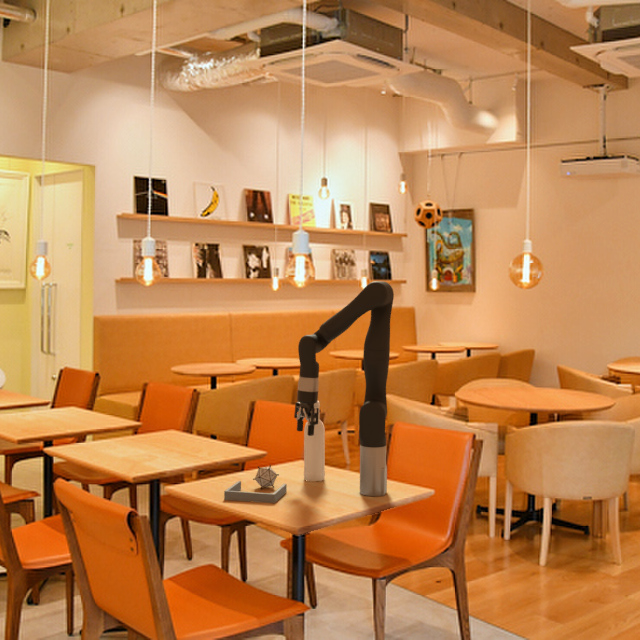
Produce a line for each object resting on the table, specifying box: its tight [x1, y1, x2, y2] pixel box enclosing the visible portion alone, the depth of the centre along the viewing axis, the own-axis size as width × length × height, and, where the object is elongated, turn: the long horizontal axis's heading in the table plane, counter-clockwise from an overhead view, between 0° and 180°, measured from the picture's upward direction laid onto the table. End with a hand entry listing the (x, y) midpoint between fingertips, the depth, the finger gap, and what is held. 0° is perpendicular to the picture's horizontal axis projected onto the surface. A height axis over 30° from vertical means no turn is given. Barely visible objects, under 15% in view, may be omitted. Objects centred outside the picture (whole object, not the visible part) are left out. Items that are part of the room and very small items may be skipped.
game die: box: [252, 464, 280, 490], centre depth 305 cm, size 9×8×10 cm
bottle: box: [303, 400, 326, 482], centre depth 318 cm, size 8×8×30 cm
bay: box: [223, 480, 288, 504], centre depth 294 cm, size 18×15×3 cm
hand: (305, 433), depth 307 cm, fingers open, 8 cm apart
